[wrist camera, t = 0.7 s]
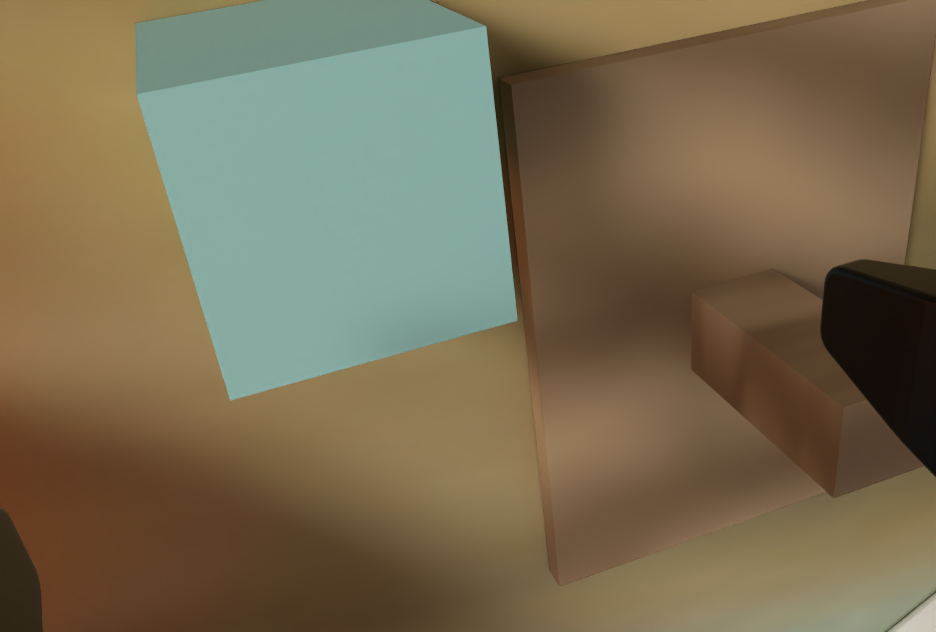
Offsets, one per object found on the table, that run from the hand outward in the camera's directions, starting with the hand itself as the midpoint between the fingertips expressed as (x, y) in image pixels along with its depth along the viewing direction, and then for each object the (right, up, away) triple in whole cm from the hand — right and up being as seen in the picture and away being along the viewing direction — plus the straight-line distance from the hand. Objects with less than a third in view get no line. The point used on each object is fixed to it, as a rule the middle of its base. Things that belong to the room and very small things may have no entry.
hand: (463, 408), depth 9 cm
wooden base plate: (+7, +1, +17) cm, 18 cm away
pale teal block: (-4, +5, +10) cm, 12 cm away
